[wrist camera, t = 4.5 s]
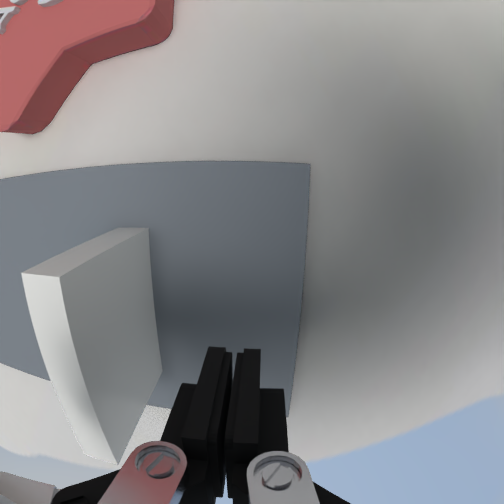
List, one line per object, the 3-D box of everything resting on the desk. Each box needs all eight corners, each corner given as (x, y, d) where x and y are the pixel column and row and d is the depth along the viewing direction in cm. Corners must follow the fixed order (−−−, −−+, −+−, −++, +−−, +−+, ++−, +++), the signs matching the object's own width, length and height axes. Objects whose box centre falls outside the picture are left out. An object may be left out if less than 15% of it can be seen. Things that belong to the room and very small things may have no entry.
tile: (148, 227, 14) (59, 277, 7) (162, 371, 16) (118, 465, 9) (116, 227, 14) (19, 272, 7) (135, 367, 16) (82, 454, 9)
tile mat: (308, 164, 13) (310, 163, 13) (287, 411, 17) (288, 417, 16) (-40, 187, 14) (-44, 188, 13) (-6, 355, 18) (-9, 358, 17)
